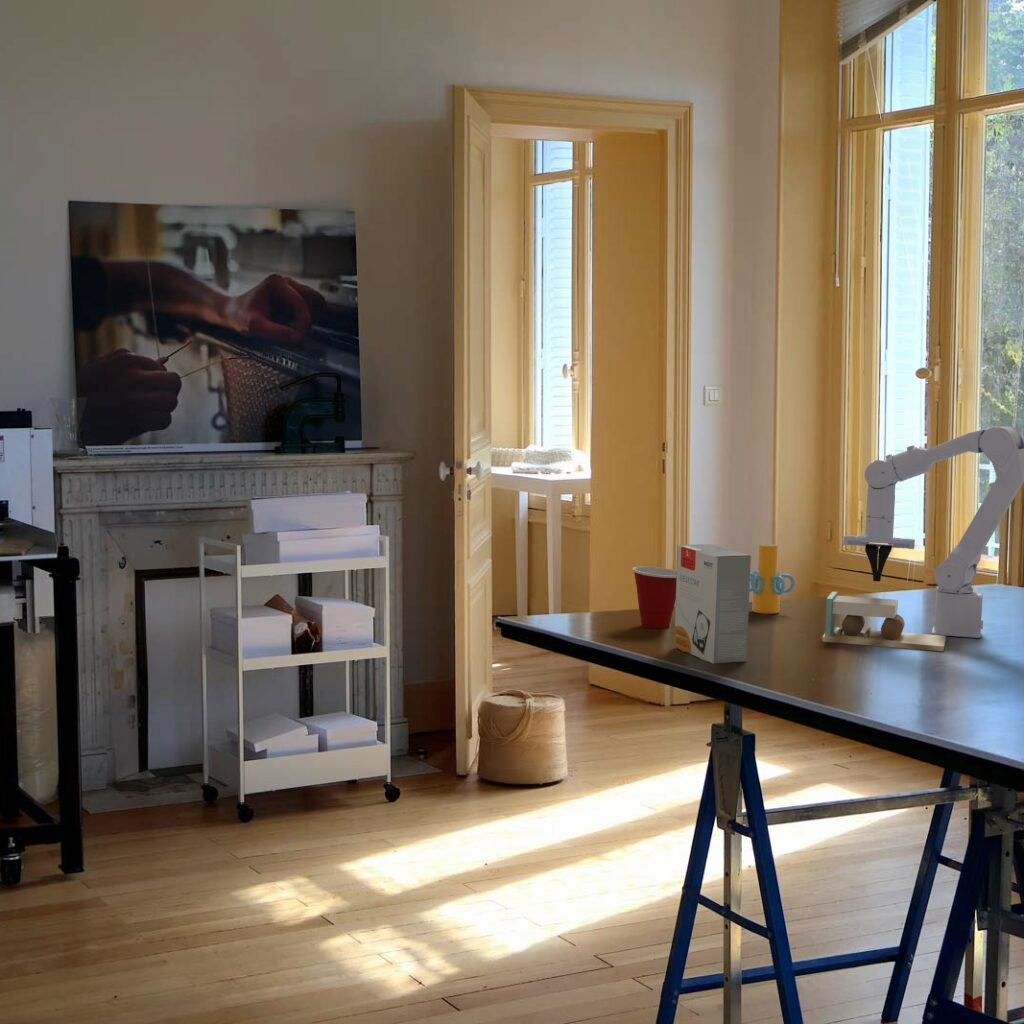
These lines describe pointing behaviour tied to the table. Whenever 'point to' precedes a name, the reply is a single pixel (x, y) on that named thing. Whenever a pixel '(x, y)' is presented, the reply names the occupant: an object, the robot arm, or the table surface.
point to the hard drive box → (712, 603)
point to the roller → (853, 624)
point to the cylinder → (768, 582)
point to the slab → (865, 606)
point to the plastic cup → (655, 595)
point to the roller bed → (881, 634)
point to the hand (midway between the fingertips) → (876, 580)
